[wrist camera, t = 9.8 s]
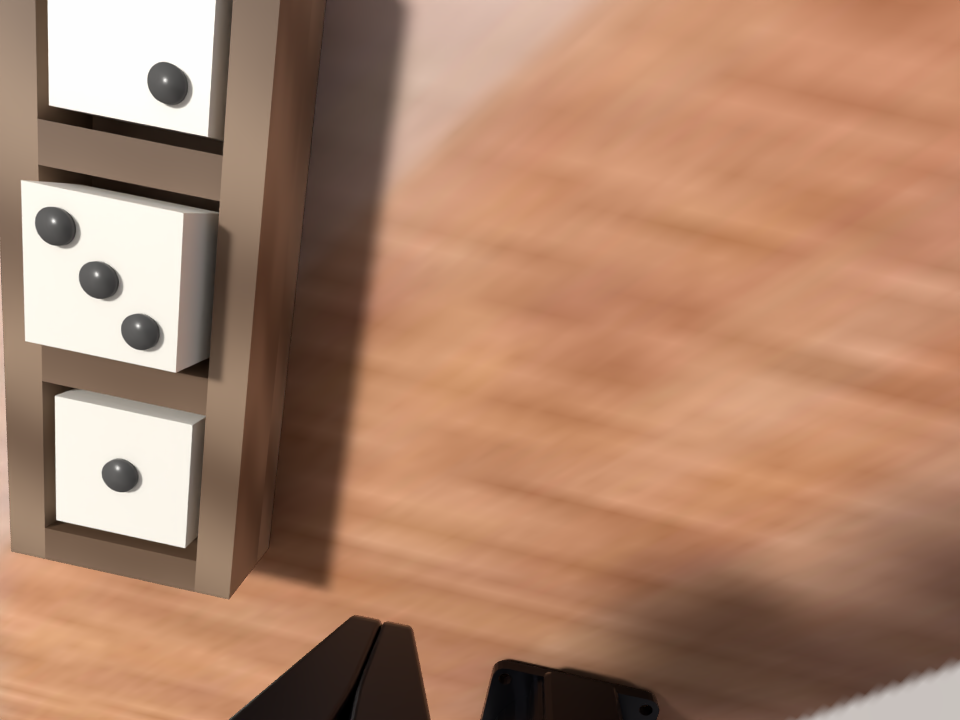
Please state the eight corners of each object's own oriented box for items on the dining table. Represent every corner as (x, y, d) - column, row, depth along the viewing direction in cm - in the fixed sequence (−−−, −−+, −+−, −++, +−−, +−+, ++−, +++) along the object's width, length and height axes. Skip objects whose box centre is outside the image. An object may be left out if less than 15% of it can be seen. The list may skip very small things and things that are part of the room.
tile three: (214, 355, 18) (172, 374, 15) (79, 327, 18) (20, 342, 16) (223, 213, 16) (179, 212, 14) (79, 184, 16) (15, 179, 14)
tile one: (217, 516, 20) (182, 551, 18) (100, 491, 20) (52, 522, 18) (226, 403, 19) (189, 427, 17) (102, 377, 19) (50, 397, 17)
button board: (268, 547, 22) (228, 599, 19) (79, 506, 22) (11, 551, 19) (331, -56, 16) (289, -115, 13) (80, -103, 16) (-16, -172, 13)
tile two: (244, 145, 17) (204, 136, 15) (103, 117, 17) (43, 104, 15) (256, -19, 16) (215, -55, 14) (105, -48, 16) (41, -88, 14)
